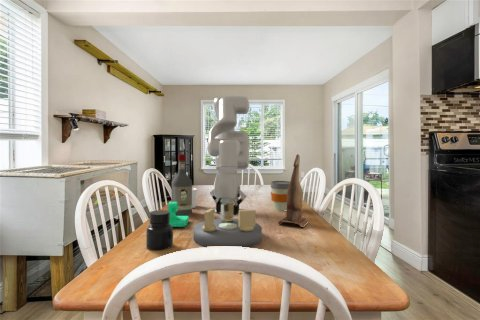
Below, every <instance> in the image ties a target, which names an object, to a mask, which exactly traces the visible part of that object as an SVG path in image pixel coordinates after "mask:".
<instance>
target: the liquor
mask: <svg viewBox="0 0 480 320" xmlns="http://www.w3.org/2000/svg"><path fill="white" fill-rule="evenodd" d="M177 155H178V156H177V160H178V170H177V174H176V175H175V176H174V177H173V178H172V180H171V202H178V210H177V212H175V214H176V216H190V215H191V214H192V212H193V208H192V188H193V182H192V179H191V178H190V177H189V176H188V174H187V173H186V172H187V171H186V159H187V157H186V153H185V154H184V153H181V154H179V153H178V154H177Z"/></svg>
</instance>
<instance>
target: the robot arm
mask: <svg viewBox="0 0 480 320" xmlns="http://www.w3.org/2000/svg"><path fill="white" fill-rule="evenodd" d="M213 110H214V112H215V113H214V114H215V116H216V119H217V121H216V122H215V123H214V124H213V126H212V127H211V128H210V130H209V132H208V135H207V152H208V154H209V155H210V157H215V158H214V159H215V169H216V170H215V171H216V175H215V179H214V180H215V181H214V189H212V190H211V191H210V192H209V194H210V196H211V197H212V200H213V201H214V203H215V207H214V208H213V209H214V213H217V214H220V215H221V204H225V203H230V202H232V203H234V211H233V215H234V216H237V215H239V210H240V205H241V203H242V202H243V201H244V200H245V199H246V198H247V195H246V194H245V193H244V191H243V190H241V181H240V180H241V179H240V175H239V173H238V170H241V171H242V170H246V169H248V168H249V164H250V147H249V146H250V142H249V141H250V140H249V134H248V133H247V132H246V131H243V130H236V129H235V127H236V126H237V124H238V119H237V118H238V116H237V115H247V114H248V113H249V110H250V102H249V99H248V97H247V96H239V95H238V96H237V95H235V96H234V95H221V96H217V97H215V98H214V99H213ZM216 137H218V138H216Z"/></svg>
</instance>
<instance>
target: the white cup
mask: <svg viewBox="0 0 480 320" xmlns="http://www.w3.org/2000/svg"><path fill="white" fill-rule="evenodd" d="M197 199H198V189H197V188H195V187H192V209H193V208H197Z"/></svg>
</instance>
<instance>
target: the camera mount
mask: <svg viewBox="0 0 480 320" xmlns="http://www.w3.org/2000/svg"><path fill="white" fill-rule="evenodd" d="M177 210H178V202H172V201H168V206H167V211H169V212H170V222H169V224H170V225H171V226H172V227H173V228H174V227H175V228H177V227H178V228H179V227H180V228H182V227H187V225H188V221H189V220H190V219H189V218H190V217H189V216H190V215H185V216H176V214H175V212H177Z"/></svg>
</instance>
